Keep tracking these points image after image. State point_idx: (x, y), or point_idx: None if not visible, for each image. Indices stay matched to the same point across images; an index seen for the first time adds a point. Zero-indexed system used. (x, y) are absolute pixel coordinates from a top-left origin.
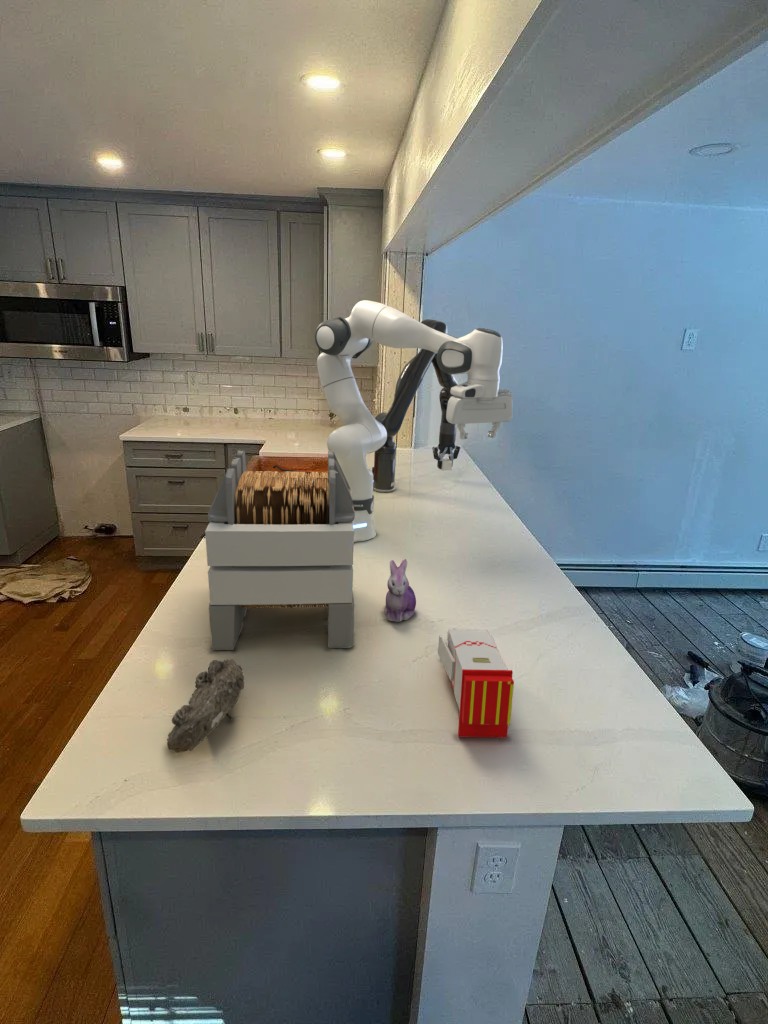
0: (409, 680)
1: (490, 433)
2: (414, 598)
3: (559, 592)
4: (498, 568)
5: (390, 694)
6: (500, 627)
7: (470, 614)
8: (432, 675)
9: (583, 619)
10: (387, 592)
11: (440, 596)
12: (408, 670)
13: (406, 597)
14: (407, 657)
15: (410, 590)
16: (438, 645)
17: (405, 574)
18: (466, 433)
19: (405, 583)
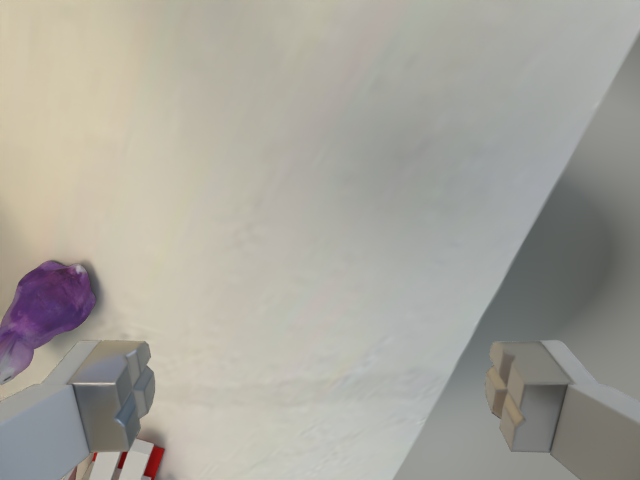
0: None
1: (504, 416)
2: (74, 325)
3: (454, 320)
4: (402, 172)
5: None
6: (245, 386)
7: (211, 336)
8: None
9: (414, 409)
10: (17, 286)
11: (180, 256)
12: None
13: (43, 343)
14: None
15: (58, 325)
16: (67, 473)
17: (7, 367)
18: (109, 451)
19: (12, 375)
